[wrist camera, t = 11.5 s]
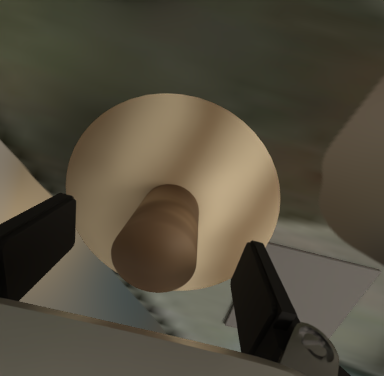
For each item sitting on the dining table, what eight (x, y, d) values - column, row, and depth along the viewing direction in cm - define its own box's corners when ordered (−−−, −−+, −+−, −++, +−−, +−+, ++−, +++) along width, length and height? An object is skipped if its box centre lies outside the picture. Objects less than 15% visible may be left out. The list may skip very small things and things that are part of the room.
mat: (378, 269, 25) (381, 271, 25) (320, 344, 31) (322, 347, 30) (262, 240, 25) (263, 242, 24) (225, 322, 30) (225, 325, 30)
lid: (310, 129, 12) (406, 141, 7) (235, 295, 18) (251, 383, 12) (80, 67, 12) (-39, 18, 6) (73, 256, 17) (6, 329, 11)
